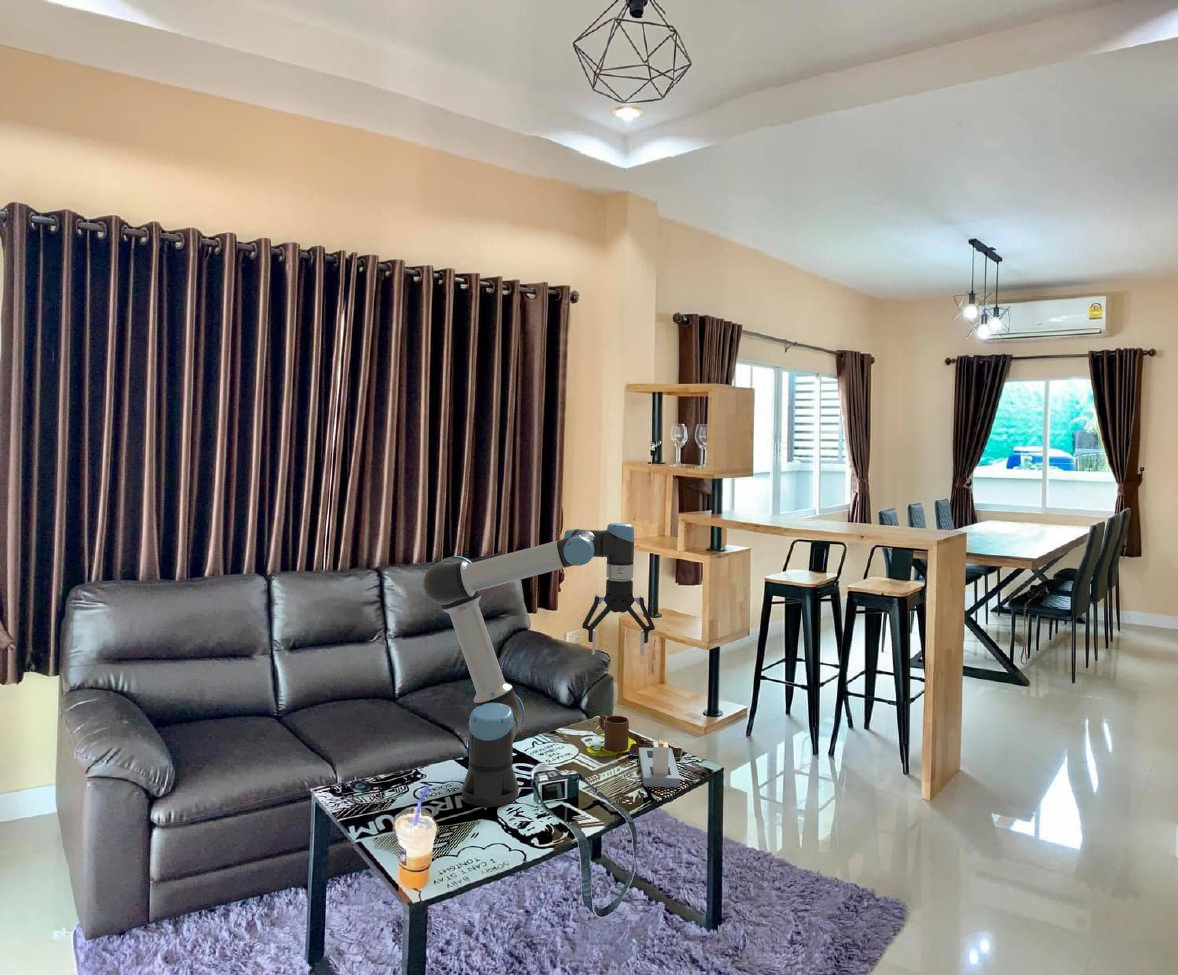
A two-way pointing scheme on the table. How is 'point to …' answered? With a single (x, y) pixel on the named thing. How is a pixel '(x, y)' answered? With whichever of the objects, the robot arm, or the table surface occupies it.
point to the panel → (658, 780)
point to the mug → (615, 732)
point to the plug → (660, 758)
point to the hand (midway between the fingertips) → (617, 654)
